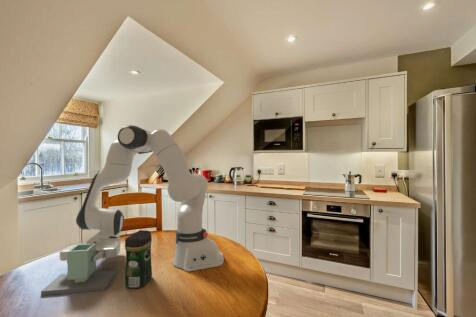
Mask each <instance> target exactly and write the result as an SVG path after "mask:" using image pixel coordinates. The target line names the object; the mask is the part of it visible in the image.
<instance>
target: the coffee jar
mask: <svg viewBox="0 0 476 317" xmlns="http://www.w3.org/2000/svg"><path fill="white" fill-rule="evenodd" d="M124 250H125V253H126V254H125V259H126V260H125V275H124V285H125V287H126V288H129V289H132V290H133V289H140V288H142V287H144V286H145V285H146V284H147V283H149V282H150V280H151V279H152V277H153V272H152V270H153V269H152V268H153V267H152V233H151V232H150V231H149V230H142V229H141V230H138V231H136V232H133V233H132V234H130V235H129V236H128V237H127V236H126V238H125V239H124Z"/></svg>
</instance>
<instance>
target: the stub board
mask: <svg viewBox="0 0 476 317" xmlns="http://www.w3.org/2000/svg"><path fill="white" fill-rule="evenodd" d="M117 275H118V270H117V269H113V270H99V271H94V272H93V273H92V274H91V275H90V276H89V277H88V278H86V279H73V280H68V273H62V274H61V273H60V275H58V276H57V277H56V278H54V280H53V281H51V282H50V283H49V284H48V285H47V286H46V287H45V288H43V289H41V291H40V295H41V296H51V295H54V296H55V295H66V294H77V293H87V292H88V293H89V292H101V291H107V289H108V287H109V286H110V285H111V283H112V282H113V280H114V279H115V278H116V276H117Z"/></svg>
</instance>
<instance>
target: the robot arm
mask: <svg viewBox="0 0 476 317" xmlns="http://www.w3.org/2000/svg"><path fill="white" fill-rule="evenodd" d="M152 152H153V154H154V155H155V157H156V159H157V160H158V162H159V164H160V165H161V168H163V170H164V173H165V175H166V179H167V182H168V187H167V193H168V196H169V197H170V199H171V200H173V201H174V202H177V203H179V202H180V206H179V208H178V210H177V214H176V230H175V244H176V245H175V253H174V257H173V261H172V264H173V266H175V267H176V268H178V269H182V270H183V271H185V272H192V271H193V272H194V271H199V270H206V269H210V268H216V267H217V268H218V267H221V266H223V265H224V262H225V258H224V255H223V252H221V251H220V250H219V247H218V245H217V243H216V242H215V241H214V240H212V239H211V238H209V235H208V234H209V233H208V232H207V230H206V228H203V211H204V203H205V199H206V193H207V190H208V187H209V181H208V179H207V178H206V177H205V175H202V174H199V173H191V171H190V170H189V166H188V158H187V157H186V155H185V154H184V152H183V151H182V149H181V148H180V146H179V145H178V143H177V141H176V140H175V139H174V137H172V135H171V134H170V133H169V132H168V131H167V130H165V129H162V128H161V129H156V130H154V131H153V132H151V131H149V130H147V129H145V128H143V127H139V126H137V125H134V124H133V125H130V124H129V125H124V126H122V127H121V128H120V129H119V131H118V133H117V140H114V141H113V142H112V143H111V144H110V146H109V149H108V151H107V154H106V158H105V163H104V166H103V168H102V170H101V171H100V172H97V173H96V174H95V175H94V176H93V178H92V180H91V182H90V185H89V188H88V191H87V192H86V195H85V198H84V200H83V203H82V206H81V208H80V209H79V211H78V213H77V216H76V219H75V222H76V225H77V226H78V228H79V229H81V230H84V231H85V230H87V231H89V230H95V231H98V232H97V233H96V234H95V235H93V236H92V237H90V238H89V239H88V240H87V241H86V243H85V244H95V243H96V255H93V256H92V257H91V262H96V263H97V261H98V260H101V259H110V258H111V259H112V258H115V257H118V256H119V254H120V251H121V237H120V236H121V232H122V230H123V227H124V222H125V217H124V215H123V212H122V211H121V210H120V209H114V208H105V207H104V208H103V207H97V206H96V204H97V201H98V198H99V196H100V193H101V191H102V190H103V189H104V187H107V186H110V185H114V184H119V183H122V182H124V181H126V180H127V179H128V178H129V176H130V175H131V171H132V167H133V161H134V157H135V155H136V154H138V155H143V154H149V153H152ZM76 245H77V244H76V243H75V244H71V245H68V246H67V247H65V248H63V249H61V250H60V252H59V260H60V261H62V262H66V264H68V251H69V250H71V249H72V248H73V247H75V246H76Z"/></svg>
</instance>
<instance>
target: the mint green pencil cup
mask: <svg viewBox="0 0 476 317" xmlns="http://www.w3.org/2000/svg"><path fill="white" fill-rule="evenodd" d="M75 245H76V244H75ZM93 255H96V243H95V244H86V243H81V244H80V243H79V244H77V245H76V246H75V247H73V248H72V249H71V250H69V251H68V263H67V274H68V280H73V279H86V278H88V277H89V276H90V275H91V274H92V273H93V272H96V270H97V261H96V262H91V257H92V256H93Z"/></svg>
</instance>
